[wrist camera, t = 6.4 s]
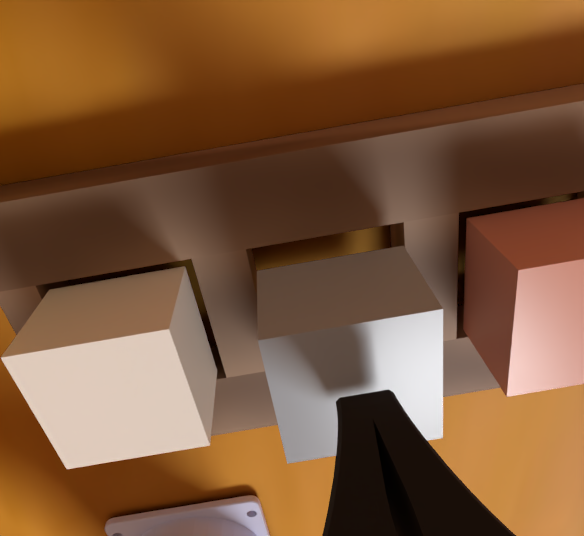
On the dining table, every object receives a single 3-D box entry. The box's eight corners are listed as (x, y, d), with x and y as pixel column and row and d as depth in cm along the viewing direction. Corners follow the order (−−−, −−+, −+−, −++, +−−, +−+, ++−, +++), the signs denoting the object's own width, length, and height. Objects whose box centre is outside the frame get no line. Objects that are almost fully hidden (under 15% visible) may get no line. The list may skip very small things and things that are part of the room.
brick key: (585, 308, 18) (653, 372, 15) (463, 329, 18) (506, 396, 15) (606, 194, 16) (692, 240, 12) (466, 218, 16) (518, 270, 13)
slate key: (408, 359, 17) (442, 437, 14) (281, 381, 17) (287, 463, 14) (403, 245, 15) (443, 308, 12) (256, 270, 15) (257, 340, 12)
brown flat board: (586, 337, 21) (616, 368, 19) (98, 419, 21) (84, 457, 20) (636, 74, 16) (684, 83, 14) (-19, 189, 16) (-52, 211, 14)
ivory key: (217, 370, 18) (209, 445, 15) (98, 390, 18) (66, 469, 15) (185, 266, 16) (169, 329, 13) (49, 289, 16) (0, 357, 13)
